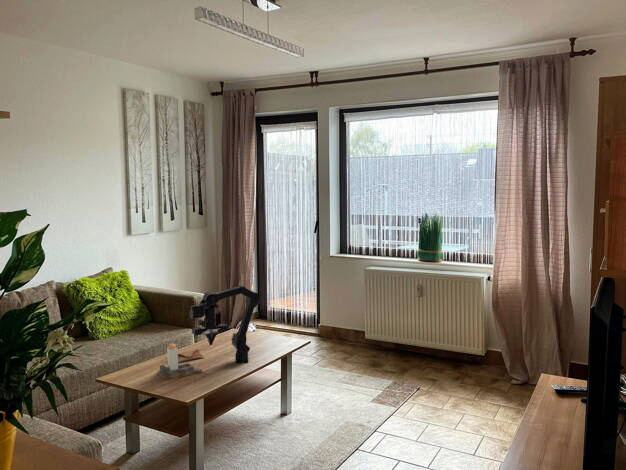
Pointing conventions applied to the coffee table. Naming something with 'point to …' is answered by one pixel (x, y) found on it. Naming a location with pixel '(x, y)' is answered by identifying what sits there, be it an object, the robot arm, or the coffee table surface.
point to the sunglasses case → (189, 356)
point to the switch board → (179, 371)
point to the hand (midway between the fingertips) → (210, 345)
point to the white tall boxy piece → (172, 357)
